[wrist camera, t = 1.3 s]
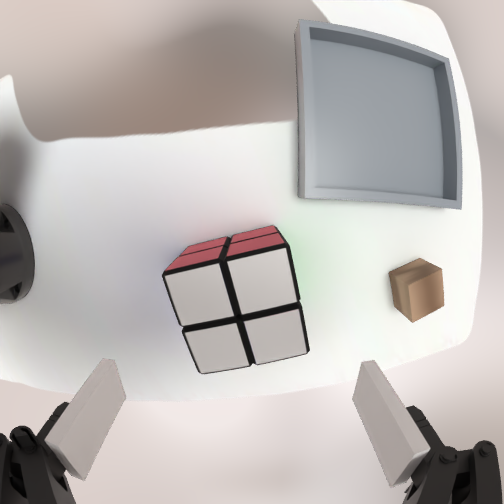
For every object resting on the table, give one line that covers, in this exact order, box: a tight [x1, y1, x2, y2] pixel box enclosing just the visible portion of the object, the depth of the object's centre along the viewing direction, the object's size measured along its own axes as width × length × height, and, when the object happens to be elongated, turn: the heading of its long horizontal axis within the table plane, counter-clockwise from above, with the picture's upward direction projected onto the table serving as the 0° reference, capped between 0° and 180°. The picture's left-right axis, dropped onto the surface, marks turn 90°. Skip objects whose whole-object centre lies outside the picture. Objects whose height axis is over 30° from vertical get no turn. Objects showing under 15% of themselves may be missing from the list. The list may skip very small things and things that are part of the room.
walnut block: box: [389, 258, 444, 323], centre depth 29 cm, size 5×5×5 cm
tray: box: [294, 19, 462, 210], centre depth 25 cm, size 20×20×4 cm
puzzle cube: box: [162, 226, 310, 374], centre depth 26 cm, size 10×10×10 cm
